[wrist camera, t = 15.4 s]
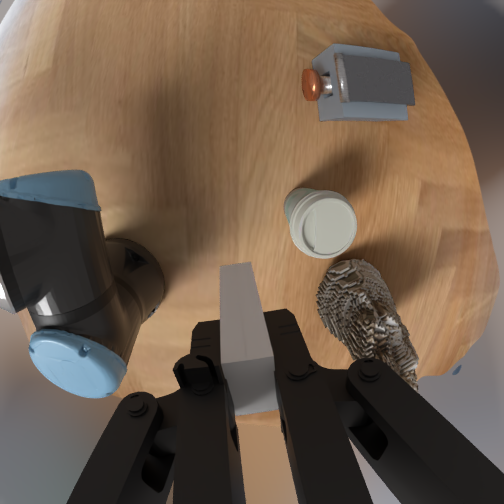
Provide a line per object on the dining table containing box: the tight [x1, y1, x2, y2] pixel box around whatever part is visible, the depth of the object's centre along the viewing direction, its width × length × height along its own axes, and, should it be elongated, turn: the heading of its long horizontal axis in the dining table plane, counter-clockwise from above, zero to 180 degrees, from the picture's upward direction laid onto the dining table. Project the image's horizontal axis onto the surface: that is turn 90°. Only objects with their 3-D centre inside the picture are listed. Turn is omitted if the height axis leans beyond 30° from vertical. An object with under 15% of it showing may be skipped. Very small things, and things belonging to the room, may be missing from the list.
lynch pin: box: [302, 69, 333, 101], centre depth 33 cm, size 15×5×5 cm, turn 97°
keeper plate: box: [333, 53, 415, 106], centre depth 27 cm, size 11×6×1 cm, turn 97°
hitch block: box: [312, 44, 408, 121], centre depth 33 cm, size 10×10×9 cm
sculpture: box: [316, 259, 419, 392], centre depth 39 cm, size 20×14×25 cm
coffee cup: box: [284, 188, 357, 259], centre depth 38 cm, size 9×8×12 cm
